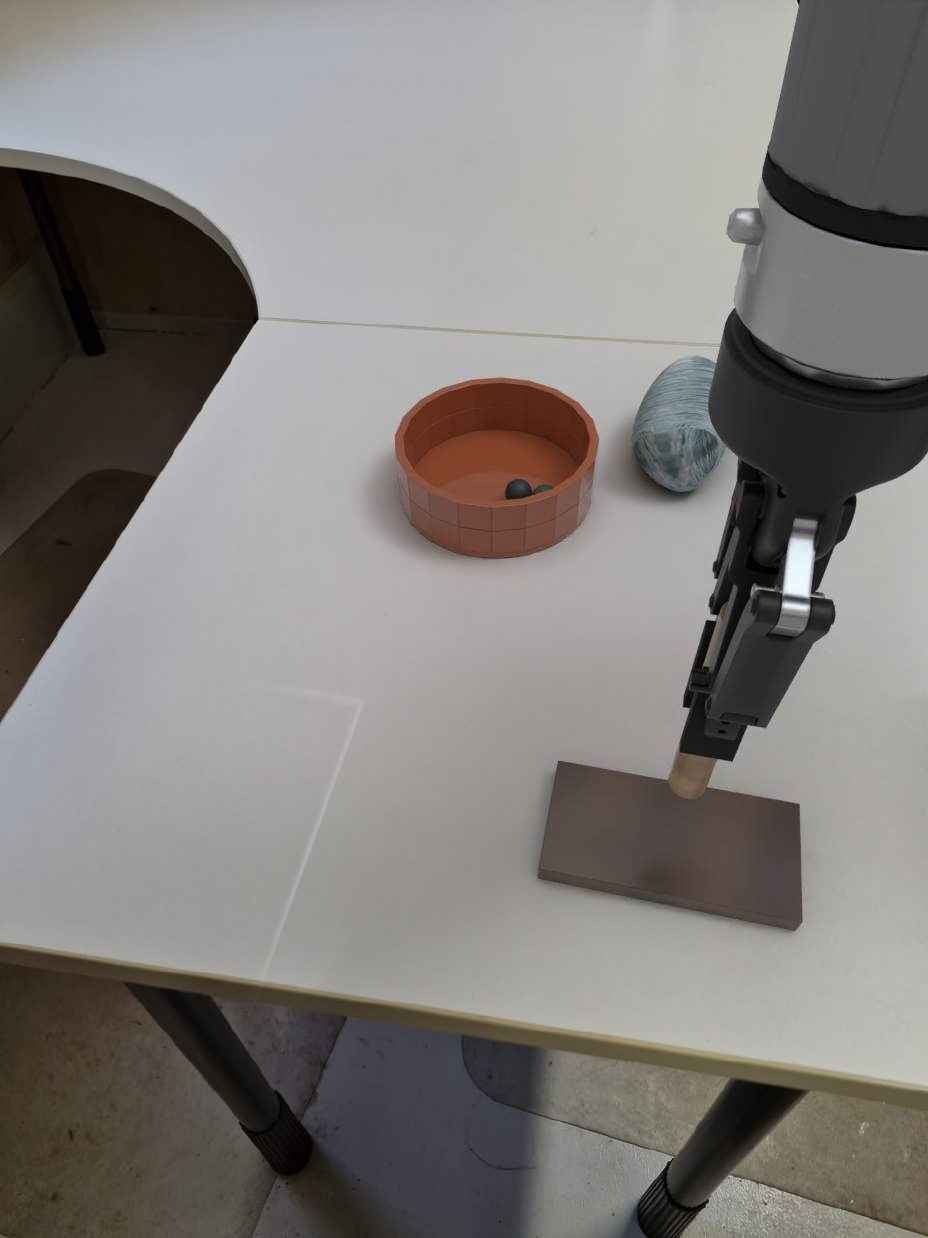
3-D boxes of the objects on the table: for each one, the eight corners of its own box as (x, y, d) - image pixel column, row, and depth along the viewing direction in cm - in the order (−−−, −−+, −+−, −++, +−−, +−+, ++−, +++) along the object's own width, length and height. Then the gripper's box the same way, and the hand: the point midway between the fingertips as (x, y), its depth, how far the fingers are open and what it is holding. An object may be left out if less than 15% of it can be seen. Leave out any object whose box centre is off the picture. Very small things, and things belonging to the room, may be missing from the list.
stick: (707, 769, 50) (770, 601, 39) (705, 802, 49) (770, 639, 37) (669, 762, 51) (720, 594, 39) (666, 795, 49) (719, 631, 38)
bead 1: (538, 493, 77) (517, 479, 77) (536, 484, 75) (514, 469, 75) (522, 514, 77) (500, 500, 77) (520, 506, 74) (498, 491, 75)
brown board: (794, 814, 57) (800, 803, 56) (796, 931, 52) (802, 922, 51) (556, 771, 60) (557, 760, 59) (537, 878, 55) (538, 868, 54)
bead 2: (550, 475, 75) (568, 496, 75) (533, 490, 77) (551, 511, 77) (538, 484, 74) (556, 505, 74) (521, 500, 75) (538, 521, 75)
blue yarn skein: (732, 494, 73) (705, 381, 69) (628, 510, 78) (598, 405, 74) (766, 437, 82) (744, 334, 78) (671, 454, 88) (646, 359, 84)
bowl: (603, 440, 83) (609, 388, 78) (578, 571, 72) (583, 519, 67) (427, 420, 86) (423, 368, 81) (377, 543, 75) (369, 491, 70)
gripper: (733, 207, 32) (648, 609, 51) (718, 464, 23) (620, 846, 41) (944, 222, 31) (779, 629, 49) (1020, 501, 22) (782, 878, 40)
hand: (707, 727), depth 45 cm, fingers closed on stick, 2 cm apart
